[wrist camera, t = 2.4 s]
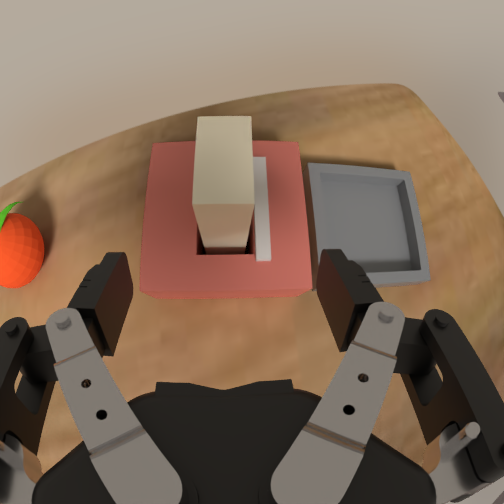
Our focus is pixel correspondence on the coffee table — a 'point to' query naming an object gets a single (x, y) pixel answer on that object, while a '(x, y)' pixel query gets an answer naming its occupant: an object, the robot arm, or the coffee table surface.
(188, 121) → the coffee table surface
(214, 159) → the tall beige block
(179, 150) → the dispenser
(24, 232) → the clementine
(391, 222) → the tray
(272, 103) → the coffee table surface
